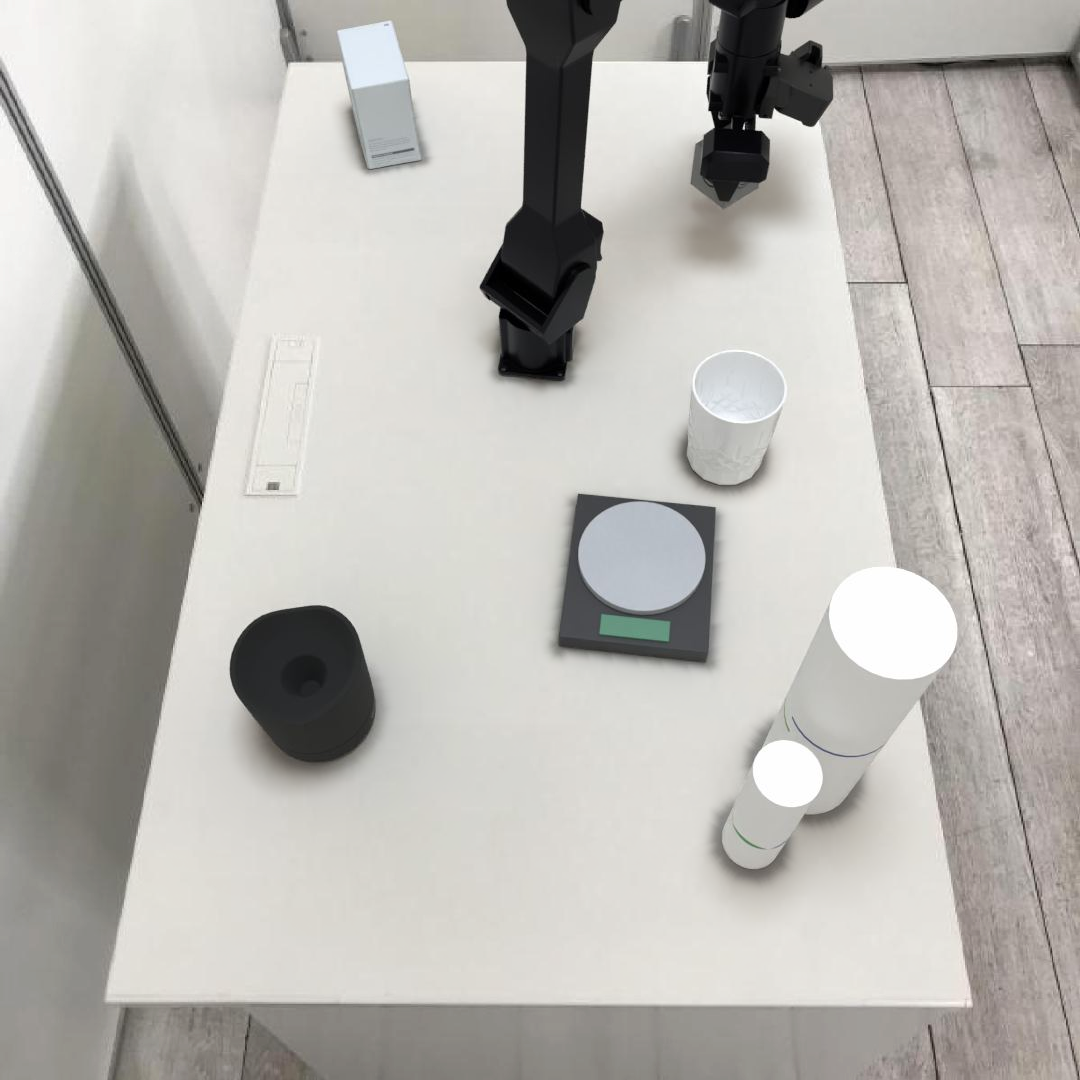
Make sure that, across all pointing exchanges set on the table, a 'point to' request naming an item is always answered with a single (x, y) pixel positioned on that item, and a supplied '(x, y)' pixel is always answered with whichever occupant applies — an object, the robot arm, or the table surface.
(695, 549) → the scale
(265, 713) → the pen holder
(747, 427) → the white cup
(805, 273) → the table surface
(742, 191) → the dice cube
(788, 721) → the cylindrical container
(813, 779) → the tube
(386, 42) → the cosmetics box
